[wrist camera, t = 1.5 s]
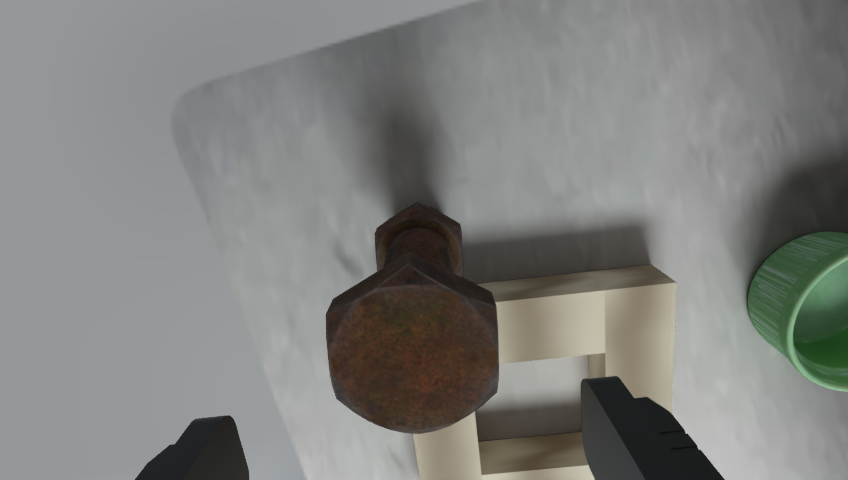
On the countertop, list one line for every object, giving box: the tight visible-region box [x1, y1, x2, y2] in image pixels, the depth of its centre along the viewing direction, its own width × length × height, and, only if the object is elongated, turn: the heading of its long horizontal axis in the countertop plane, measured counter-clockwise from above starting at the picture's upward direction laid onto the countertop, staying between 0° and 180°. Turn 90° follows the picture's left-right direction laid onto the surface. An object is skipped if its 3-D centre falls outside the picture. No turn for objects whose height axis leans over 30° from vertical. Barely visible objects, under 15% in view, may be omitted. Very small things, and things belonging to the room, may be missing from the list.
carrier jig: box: [413, 265, 677, 480], centre depth 29 cm, size 16×16×3 cm
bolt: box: [326, 203, 499, 434], centre depth 20 cm, size 6×5×15 cm
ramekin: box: [748, 232, 848, 391], centre depth 27 cm, size 9×9×4 cm
